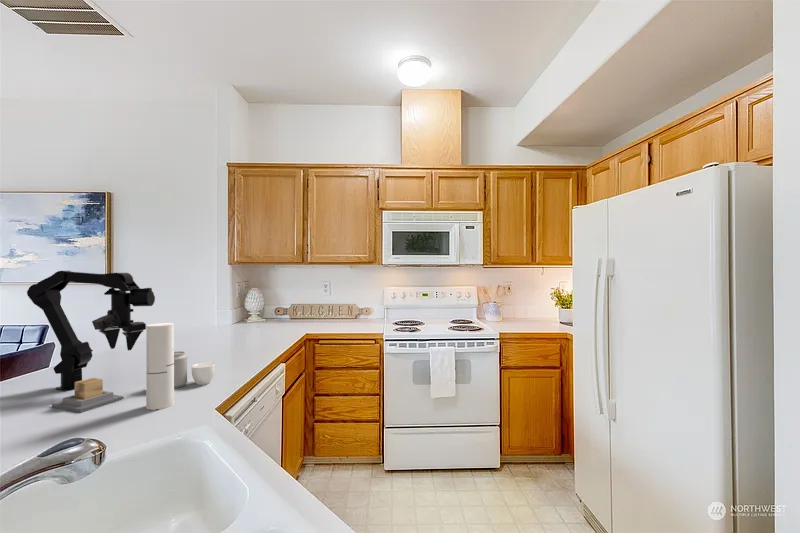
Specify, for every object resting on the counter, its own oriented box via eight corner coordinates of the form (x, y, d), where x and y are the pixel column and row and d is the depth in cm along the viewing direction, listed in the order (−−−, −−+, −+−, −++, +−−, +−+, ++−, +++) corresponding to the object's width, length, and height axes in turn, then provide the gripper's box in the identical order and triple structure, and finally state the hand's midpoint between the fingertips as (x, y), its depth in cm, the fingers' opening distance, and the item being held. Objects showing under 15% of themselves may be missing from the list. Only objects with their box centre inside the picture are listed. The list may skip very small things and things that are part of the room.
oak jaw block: (74, 401, 116) (74, 382, 116) (92, 396, 121) (92, 377, 121) (84, 403, 114) (84, 383, 114) (102, 398, 119) (102, 379, 119)
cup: (199, 387, 132) (199, 368, 132) (184, 383, 137) (184, 365, 138) (219, 382, 139) (219, 364, 139) (204, 378, 144) (204, 360, 144)
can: (176, 389, 130) (176, 355, 130) (157, 388, 132) (157, 354, 132) (192, 383, 138) (192, 350, 138) (174, 382, 139) (174, 350, 139)
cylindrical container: (179, 403, 117) (179, 323, 117) (158, 411, 110) (157, 326, 110) (162, 400, 119) (162, 322, 119) (140, 408, 112) (140, 325, 113)
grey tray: (52, 406, 114) (52, 398, 114) (95, 394, 126) (95, 387, 126) (80, 412, 109) (80, 404, 110) (123, 399, 121) (123, 391, 121)
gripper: (79, 308, 132) (79, 352, 132) (114, 309, 126) (114, 356, 125) (113, 305, 143) (113, 346, 142) (146, 306, 136) (147, 349, 136)
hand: (121, 349), depth 136 cm, fingers open, 9 cm apart
